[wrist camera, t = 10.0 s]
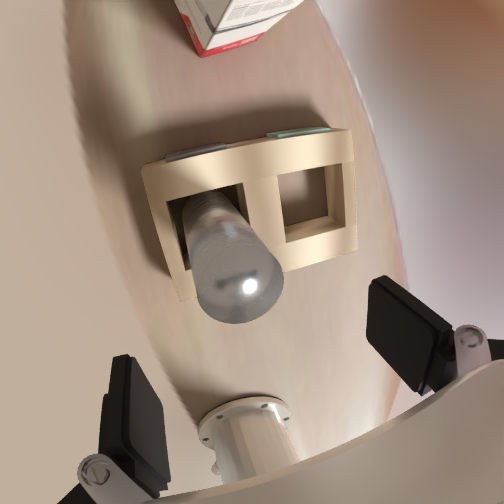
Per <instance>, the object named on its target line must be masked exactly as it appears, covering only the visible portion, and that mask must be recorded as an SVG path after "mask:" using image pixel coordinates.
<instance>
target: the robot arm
mask: <svg viewBox="0 0 504 504" xmlns="http://www.w3.org/2000/svg"><path fill="white" fill-rule="evenodd" d="M366 338H367V340H368V342H369V343H370V344H371V345H372V346H373V347H374V348H375V350H376V351H377V352H378V353H379V354H380V355H381V356H382V357H383V358H384V359H385V361H386V362H387V363H388V364H389V365H390V366H391V367H392V368H393V369H394V371H395V372H396V373H397V374H398V375H399V376H400V377H401V378H402V379H403V381H404V382H405V383H406V384H407V385H408V386H409V387H410V388H411V390H412V391H414V392H418V393H419V394H420V395H421V396H423V395H424V394H426V393H428V392H429V391H431V390H433V391H434V392H435V393H434V394H433V395H431V396H430V397H428V398H427V399H425V400H423V401H422V402H420V403H419V404H417V405H416V406H414V407H412V408H411V409H409V410H407V411H406V412H404V413H402V414H401V415H399V416H397V417H396V418H394V419H392V420H390V421H388V422H386V423H384V424H383V425H381V426H379V427H377V428H375V429H373V430H371V431H369V432H367V433H365V434H363V435H361V436H359V437H357V438H355V439H353V440H351V441H349V442H347V443H344V444H342V445H340V446H338V447H335V448H333V449H331V450H329V451H326V452H324V453H321V454H319V455H316V456H314V457H311V458H309V459H306V460H304V461H301V462H300V460H299V458H298V456H297V454H296V452H295V449H294V447H293V445H292V443H291V441H290V438H289V436H288V434H287V432H286V429H287V427H288V426H289V424H290V422H291V417H292V415H291V412H290V410H289V408H288V406H287V405H286V404H285V403H284V402H283V401H281V400H279V399H276V398H272V397H263V396H261V397H248V398H242V399H238V400H234V401H231V402H228V403H226V404H223V405H221V406H219V407H217V408H215V409H214V410H212V411H211V412H209V413H208V414H207V415H206V416H205V417H204V418H203V419H202V420H201V422H200V423H199V426H198V435H199V439H200V441H201V442H202V443H203V444H204V445H205V446H207V447H209V448H211V449H213V450H214V452H215V456H216V462H215V463H214V465H213V466H212V468H211V470H212V472H213V473H214V474H216V475H221V478H222V482H223V485H221V486H217V487H212V488H208V489H203V490H198V491H193V492H187V493H182V494H177V495H172V496H167V497H161V498H159V497H160V493H159V491H163V490H168V486H167V483H168V482H170V481H171V476H170V469H169V462H168V454H167V445H166V435H165V425H164V414H163V407H162V403H161V401H160V399H159V398H158V396H157V395H156V393H155V391H154V390H153V388H152V386H151V385H150V383H149V381H148V380H147V378H146V376H145V374H144V373H143V371H142V369H141V367H140V366H139V364H138V362H137V360H136V359H135V357H130V356H129V355H128V354H125V355H120V356H116V357H113V361H112V368H111V375H110V383H109V392H108V394H105V395H104V397H103V403H102V412H101V423H100V434H99V449H98V454H93V455H89V456H87V457H86V458H84V459H83V461H82V462H81V463H80V465H79V467H78V472H77V475H78V480H79V482H80V483H79V484H78V485H76V486H75V487H74V488H73V489H72V490H71V491H70V492H69V493H68V494H67V495H66V496H65V497H64V498H63V499H62V500H61V501H60V502H59V503H57V504H504V340H496V339H487V337H486V334H485V333H484V331H483V330H482V329H480V328H479V327H477V326H474V325H462V326H460V327H458V328H457V329H456V331H453V330H452V325H450V324H449V323H448V322H447V321H445V320H444V319H443V318H442V317H440V316H439V315H438V314H436V313H435V312H434V311H433V310H431V309H430V308H429V307H428V306H426V305H425V304H424V303H422V302H421V301H420V300H418V299H417V298H416V297H414V296H413V295H412V294H411V293H409V292H408V291H407V290H405V289H404V288H403V287H401V286H400V285H399V284H397V283H396V282H394V281H393V280H392V279H390V278H389V277H388V276H386V275H383V276H381V277H378V278H376V279H373V280H372V282H371V284H370V285H369V291H368V312H367V327H366Z"/></svg>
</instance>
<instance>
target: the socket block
mask: <svg viewBox="0 0 504 504" xmlns="http://www.w3.org/2000/svg"><path fill="white" fill-rule="evenodd" d="M266 134H267V137H264V138H258V139H253V140H248V141H242V142H237V143H232V144H227V145H226V144H223V143H220V142H219V143H214V144H209V145H205V146H200V147H196V148H192V149H188V150H184V151H180V152H176V153H172V154H168V155H165V159H164V160H160V161H156V162H153V163H149V164H146V165H144V166H143V167H142V169H141V171H140V172H141V176H142V179H143V183H144V187H145V191H146V195H147V198H148V202H149V206H150V209H151V213H152V216H153V220H154V223H155V226H156V230H157V233H158V236H159V240H160V243H161V246H162V249H163V253H164V256H165V259H166V262H167V265H168V268H169V271H170V274H171V277H172V280H173V283H174V286H175V289H176V292H177V295H178V298H179V300H180V302H182V301H185V300H189V299H193V298H196V297H197V294H196V290H195V285H194V280H193V275H192V270H191V265H190V260H189V254H188V252H187V253H182V249H181V246H180V242H179V239H178V235H177V231H176V228H175V224H174V220H173V217H172V213H171V209H170V205H169V202H168V201H170V200H174V199H177V198H181V197H185V196H189V195H193V194H196V193H200V192H204V191H208V190H212V189H217V188H221V187H225V186H229V185H233V184H235V186H236V191H237V197H238V202H239V207H240V213H241V215H242V217H243V218H244V219H245V220H246V222H247V223H248V224H249V225H250V227H251V228H252V229H253V230H254V231H255V233H256V234H257V235H258V236H259V238H260V239H261V240H262V241H263V243H264V244H265V245H266V246H267V248H268V249H269V250H270V251H271V253H272V254H273V255H274V256H275V258H276V259H277V260H278V262H279V263H280V265H281V268H282V271H283V273H284V272H287V271H291V270H294V269H297V268H301V267H304V266H307V265H311V264H314V263H317V262H320V261H324V260H327V259H330V258H333V257H337V256H340V255H343V254H346V253H349V252H353V251H356V250H357V208H356V185H355V169H354V156H353V144H352V133H351V130H346V129H336V128H324V127H307V128H300V129H292V130H285V131H279V132H272V133H266ZM321 166H324V173H325V184H326V196H327V209H328V216H325V217H321V218H317V219H313V220H309V221H305V222H301V223H297V224H293V225H289V226H285V227H284V224H283V216H282V209H281V201H280V194H279V187H278V180H277V175H279V174H284V173H289V172H294V171H300V170H305V169H310V168H316V167H321Z"/></svg>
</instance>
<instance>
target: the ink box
mask: <svg viewBox="0 0 504 504" xmlns="http://www.w3.org/2000/svg"><path fill="white" fill-rule="evenodd" d="M174 1H175V3H176V5H177V8H178V10H179V12H180V14H181V16H182V19H183V21H184V23H185V25H186V27H187V29H188V32H189V34H190V36H191V38H192V41H193V43H194V46H195V48H196V50H197V52H198V55H199V56H200V57H201V58H204V57H207V56H211V55H214V54H217V53H221V52H224V51H227V50H230V49H233V48H236V47H239V46H242V45H245V44H248V43H251V42H253V41H256V40H258V38H259V37H260V36H262V35H263V34H264V33H265V32H266V31H267V30H268V29H269V28H271V27H272V26H273V25H274V24H275V23H277V22H278V21H279V20H280V19H281V18H283V17H284V16H285V15H286V14H287V13H289V12H290V11H291V10H292V9H294V8H295V7H296V6H297V5H299V4H300V3H301V2H303V1H304V0H174Z"/></svg>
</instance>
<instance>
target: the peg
mask: <svg viewBox="0 0 504 504" xmlns="http://www.w3.org/2000/svg"><path fill="white" fill-rule="evenodd" d="M182 221H183V227H184V232H185V238H186V244H187V249H188V254H189V260H190V265H191V270H192V275H193V280H194V285H195V290H196V294H197V299H198V302H199V304H200V306H201V307H202V309H203V310H204V311H205V312H206V313H207V314H208V315H209V316H210V317H212V318H214V319H215V320H218V321H220V322H224V323H230V324H237V323H245V322H249V321H252V320H254V319H256V318H258V317H260V316H262V315H263V314H265V313H266V312H267V311H269V310H270V309H271V308H272V307H273V306H274V304H275V303H276V302H277V300H278V298H279V296H280V294H281V292H282V289H283V283H284V276H283V271H282V268H281V265H280V263H279V262H278V260H277V259H276V258H275V256H274V255H273V254H272V253H271V251H270V250H269V249H268V248H267V246H266V245H265V244H264V243H263V241H262V240H261V239H260V238H259V236H258V235H257V234H256V233H255V231H254V230H253V229H252V228H251V227H250V225H249V224H248V223H247V222H246V220H245V219H244V218H243V217H242V215H241V214H240V213H239V212H238V210H237V209H236V208H235V207H234V205H233V204H232V203H231V202H230V201H229V199H228V198H227V197H226V196H225V195H224V194H222V193H220V192H218V191H215V190H208V191H204V192H200V193H196V194H194V195H192V196H191V197H190V198H189V199H188V200H187V202H186V203H185V205H184V207H183V211H182Z"/></svg>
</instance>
